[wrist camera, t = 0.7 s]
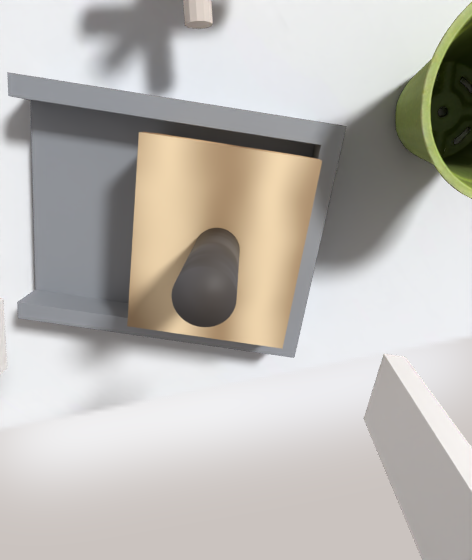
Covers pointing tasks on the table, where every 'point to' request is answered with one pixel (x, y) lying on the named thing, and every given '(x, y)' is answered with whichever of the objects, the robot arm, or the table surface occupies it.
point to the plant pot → (442, 93)
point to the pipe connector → (198, 13)
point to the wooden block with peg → (218, 238)
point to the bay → (121, 195)
